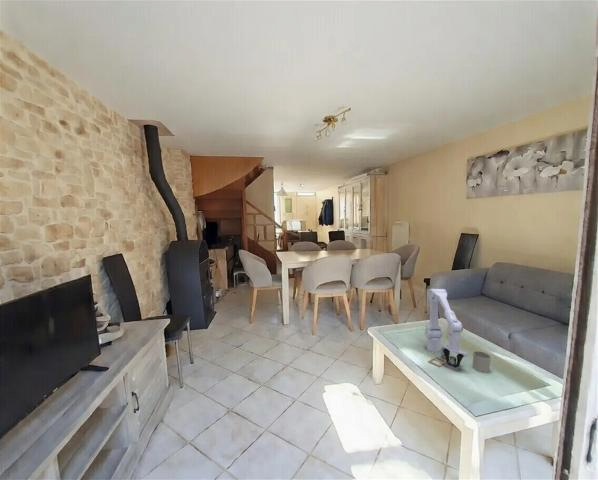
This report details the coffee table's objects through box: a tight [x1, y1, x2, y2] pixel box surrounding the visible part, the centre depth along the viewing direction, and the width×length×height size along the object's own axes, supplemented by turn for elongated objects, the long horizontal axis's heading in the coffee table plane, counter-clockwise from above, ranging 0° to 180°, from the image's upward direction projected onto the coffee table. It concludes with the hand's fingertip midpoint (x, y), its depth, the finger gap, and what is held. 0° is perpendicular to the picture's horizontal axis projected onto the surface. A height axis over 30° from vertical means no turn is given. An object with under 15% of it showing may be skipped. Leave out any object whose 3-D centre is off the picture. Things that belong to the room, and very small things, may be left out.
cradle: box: [443, 360, 464, 372], centre depth 159 cm, size 10×7×3 cm
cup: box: [472, 350, 491, 374], centre depth 157 cm, size 8×8×10 cm
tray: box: [427, 356, 446, 368], centre depth 163 cm, size 10×7×2 cm
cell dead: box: [440, 348, 446, 361], centre depth 169 cm, size 3×3×6 cm
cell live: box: [449, 355, 457, 368], centre depth 158 cm, size 3×3×6 cm
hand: (452, 363), depth 158 cm, fingers open, 5 cm apart
